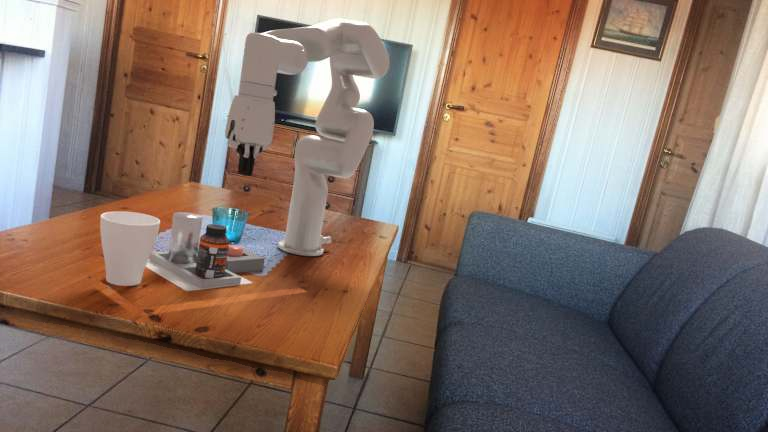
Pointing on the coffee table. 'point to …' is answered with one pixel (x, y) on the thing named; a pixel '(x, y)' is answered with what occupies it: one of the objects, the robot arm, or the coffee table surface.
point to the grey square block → (245, 262)
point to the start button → (235, 251)
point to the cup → (127, 245)
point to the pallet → (189, 274)
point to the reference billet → (184, 238)
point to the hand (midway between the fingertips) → (244, 174)
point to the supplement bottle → (212, 252)
